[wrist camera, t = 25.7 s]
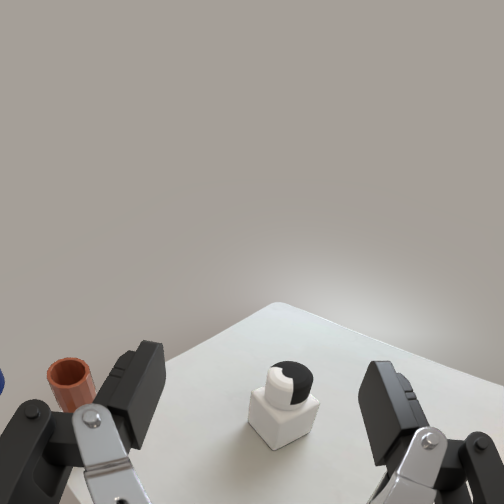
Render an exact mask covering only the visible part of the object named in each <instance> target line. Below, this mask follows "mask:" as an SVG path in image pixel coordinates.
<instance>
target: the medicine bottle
mask: <svg viewBox="0 0 504 504" xmlns="http://www.w3.org/2000/svg"><path fill="white" fill-rule="evenodd" d="M312 383H313V375H312V373H311V371H310V370H309V369H308V368H307V367H306V366H304V365H302V364H300V363H297V362H293V361H283V362H279V363H277V364H275V365H273V366H272V367H271V368H270V369H269V370H268V373H267V379H266V386H263V387H261V388H258V389H256V390H253V391H251V396H250V405H249V413H248V422H249V423H250V424H251V426H252V427H253V428H254V429H255V430H256V431H257V433H258V434H259V435H260V436H261V437H262V438H263V440H264V441H265V442H266V443H267V444H268V445H269V446H270V448H271V449H272V450H277V449H279V448H281V447H283V446H285V445H286V444H288V443H290V442H292V441H294V440H296V439H298V438H300V437H302V436H303V435H305V434H307V433H309V432H310V431H311V429H312V426H313V423H314V420H315V417H316V414H317V412H318V409H319V406H320V402H319V401H318V400H317V399H316V398H314V397H313V396H312V395H311V394H310V390H311V386H312Z"/></svg>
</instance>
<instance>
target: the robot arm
mask: <svg viewBox="0 0 504 504" xmlns="http://www.w3.org/2000/svg"><path fill="white" fill-rule="evenodd" d="M165 380H166V368H165V360H164V350H163V345H162V343H157V342H152V341H146V340H143V341H142V342H141V343H140V345H139V347H138V349H137V350H136V352H135V351H130V350H129V351H127V352H126V353H125V354H123V355H122V356H120V357H119V359H118V360H117V362H116V363H115V365H114V368H112V370H111V372H110V373H109V376H108V377H107V378H106V380H105V382H104V383H103V385H102V387H101V388H100V390H99V392H98V393H97V395H96V397H95V399H94V400H93V402H92V403H90V404H85V405H82V406H80V407H79V408H78V409H76V410H75V412H74V413H67V412H53V411H51V410H50V408H49V406H48V405H47V404H46V403H45V402H43V401H41V400H37V399H33V400H28V401H26V402H24V403H22V404H21V405H20V406H19V408H18V409H17V411H16V412H15V414H14V415H13V417H12V419H11V420H10V422H9V423H8V425H7V426H6V428H5V430H4V431H3V433H2V435H1V436H0V504H59V502H60V499H61V496H62V494H63V491H64V489H65V486H66V483H67V481H68V478H69V476H70V473H71V471H72V468H73V467H85V471H84V478H85V481H86V484H87V487H88V490H89V492H90V495H91V498H92V500H93V503H94V504H152V503H151V501H150V500H149V498H148V496H147V494H146V492H145V490H144V488H143V486H142V484H141V482H140V480H139V478H138V476H137V474H136V472H135V470H134V468H133V466H132V463H131V461H130V459H129V457H128V454H129V451H130V449H131V448H134V449H138V450H140V449H141V447H142V444H143V441H144V439H145V436H146V433H147V430H148V428H149V425H150V422H151V420H152V417H153V415H154V412H155V409H156V407H157V404H158V401H159V399H160V396H161V394H162V391H163V388H164V385H165ZM358 401H359V405H360V409H361V413H362V416H363V420H364V424H365V427H366V431H367V435H368V439H369V442H370V446H371V450H372V454H373V458H374V462H375V466H382V465H386V467H387V471H386V472H385V473H384V475H383V477H382V479H381V480H380V482H379V484H378V486H377V487H376V489H375V491H374V492H373V494H372V496H371V497H370V499H369V500H368V502H367V503H366V504H433V502H435V504H504V465H503V463H502V460H501V458H500V456H499V453H498V451H497V449H496V447H495V444H494V442H493V440H492V439H491V438H490V437H489V436H488V435H487V434H485V433H483V432H473V433H471V434H470V435H469V436H468V437H467V438H466V439H465V441H462V440H451V439H446V436H445V435H444V434H443V433H442V432H441V431H440V430H439V429H437V428H434V427H430V426H429V424H428V421H427V419H426V417H425V415H424V412H423V410H422V408H421V406H420V404H419V401H418V400H417V397H416V395H415V393H414V392H413V389H412V387H411V385H410V382H409V381H408V380H407V379H406V378H405V377H404V376H403V375H402V374H401V373H396V371H395V369H394V367H393V365H392V363H391V362H390V361H371V362H370V364H369V366H368V369H367V371H366V374H365V376H364V379H363V381H362V384H361V386H360V389H359V394H358ZM467 480H468V482H469V485H470V488H471V492H472V495H473V503H472V501H471V498H470V495H469V491H468V488H467V485H466V481H467Z"/></svg>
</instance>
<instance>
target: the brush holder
mask: <svg viewBox="0 0 504 504" xmlns="http://www.w3.org/2000/svg"><path fill="white" fill-rule="evenodd" d="M47 380H48V382H49V384H50V387H51V389H52V391H53V394H54V396H55V398H56V401H57V403H58V405H59V407H60V409H61V411H62V412H67V413H74V412H75V410H76V409H78V408H79V407H80V406H82V405H85V404H90V403H92V402H93V400H94V399H95V397H96V395H97V391H96V389H95V385H94V382H93V379H92V376H91V373H90V369H89V366H88V365H87V364H86V363H85V362H84V361H83V360H81V359H78V358H64V359H60V360H58V361H56V362H54V363H53V364H52V365H51V366H50V367H49V369H48V371H47Z"/></svg>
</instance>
